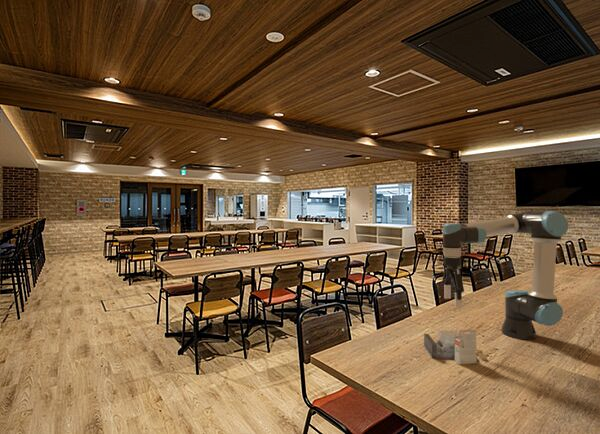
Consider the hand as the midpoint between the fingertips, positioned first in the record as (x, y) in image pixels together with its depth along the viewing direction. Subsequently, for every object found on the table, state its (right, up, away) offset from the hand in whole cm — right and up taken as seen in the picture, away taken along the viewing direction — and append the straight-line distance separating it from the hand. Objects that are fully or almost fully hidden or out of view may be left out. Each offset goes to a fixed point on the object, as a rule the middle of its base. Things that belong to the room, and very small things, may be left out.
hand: (452, 302), depth 154 cm
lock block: (-2, -21, -1) cm, 21 cm away
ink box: (0, -23, -11) cm, 26 cm away
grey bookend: (-3, -23, -1) cm, 23 cm away
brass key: (+10, -23, -6) cm, 25 cm away
